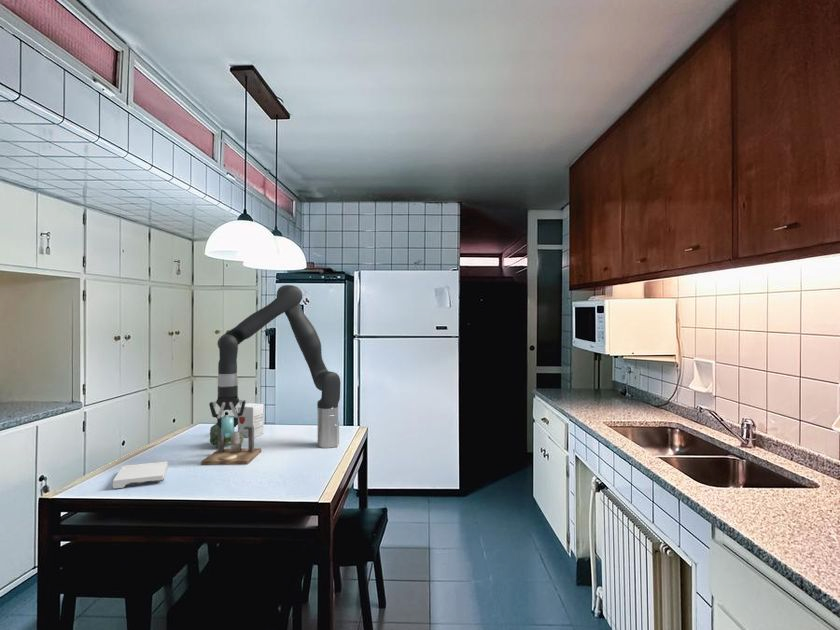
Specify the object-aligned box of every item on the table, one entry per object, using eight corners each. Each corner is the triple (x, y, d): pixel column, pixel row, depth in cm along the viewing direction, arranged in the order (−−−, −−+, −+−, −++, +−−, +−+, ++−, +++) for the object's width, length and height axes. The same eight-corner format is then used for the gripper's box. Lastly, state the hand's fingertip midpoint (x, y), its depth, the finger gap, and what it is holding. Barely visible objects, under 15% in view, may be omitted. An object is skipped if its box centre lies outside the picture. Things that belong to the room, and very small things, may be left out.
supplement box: (237, 437, 236) (236, 406, 236) (248, 432, 245) (248, 402, 245) (253, 438, 234) (252, 406, 234) (264, 433, 242) (264, 403, 242)
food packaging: (122, 474, 184) (112, 490, 165) (123, 465, 184) (112, 480, 165) (167, 470, 190) (162, 485, 171) (167, 461, 190) (162, 475, 171)
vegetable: (246, 443, 216) (213, 432, 210) (233, 459, 221) (200, 449, 215) (250, 422, 226) (218, 411, 219) (237, 438, 231) (206, 428, 225)
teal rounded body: (234, 436, 193) (234, 418, 193) (220, 437, 191) (220, 419, 191) (234, 431, 201) (234, 413, 201) (221, 432, 200) (221, 414, 200)
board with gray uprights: (261, 451, 210) (261, 423, 210) (247, 464, 192) (247, 434, 192) (219, 452, 210) (219, 424, 210) (201, 465, 192) (200, 434, 192)
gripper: (207, 386, 191) (207, 430, 191) (246, 385, 195) (246, 427, 195) (209, 384, 198) (209, 426, 198) (247, 382, 202) (247, 423, 202)
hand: (227, 426), depth 196 cm, fingers closed on teal rounded body, 5 cm apart
